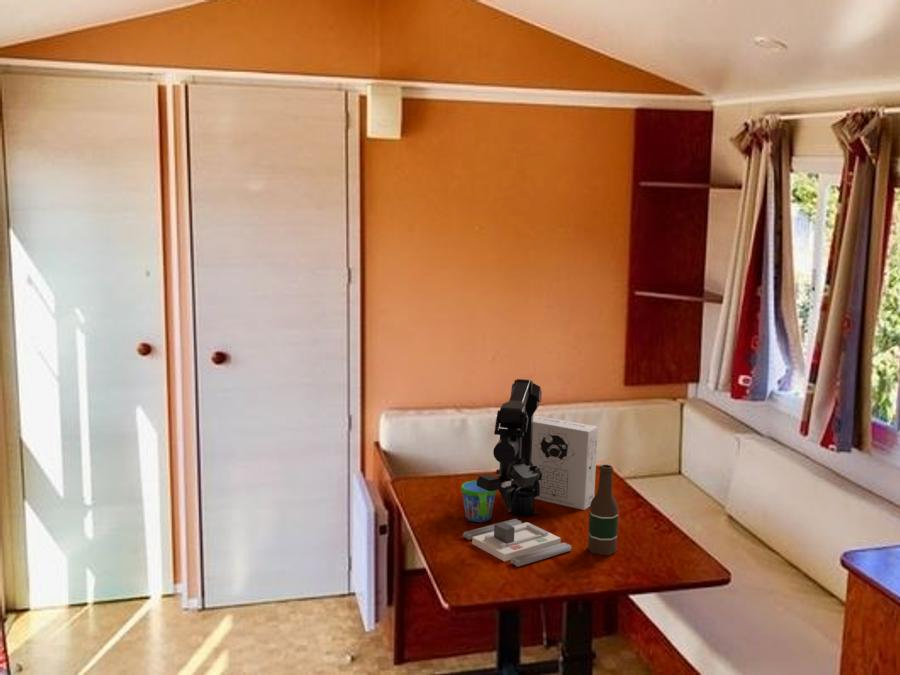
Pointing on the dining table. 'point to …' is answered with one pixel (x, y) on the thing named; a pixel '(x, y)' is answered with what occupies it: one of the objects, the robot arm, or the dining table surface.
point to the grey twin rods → (523, 558)
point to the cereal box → (565, 461)
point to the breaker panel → (516, 542)
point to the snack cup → (477, 502)
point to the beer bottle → (603, 516)
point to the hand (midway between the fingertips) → (508, 508)
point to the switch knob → (504, 532)
